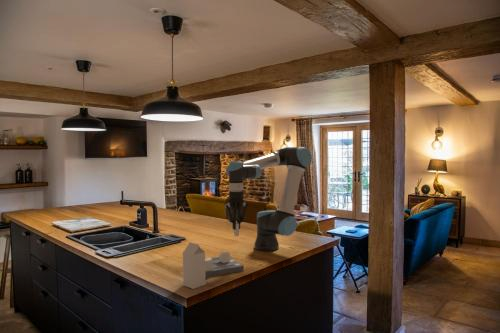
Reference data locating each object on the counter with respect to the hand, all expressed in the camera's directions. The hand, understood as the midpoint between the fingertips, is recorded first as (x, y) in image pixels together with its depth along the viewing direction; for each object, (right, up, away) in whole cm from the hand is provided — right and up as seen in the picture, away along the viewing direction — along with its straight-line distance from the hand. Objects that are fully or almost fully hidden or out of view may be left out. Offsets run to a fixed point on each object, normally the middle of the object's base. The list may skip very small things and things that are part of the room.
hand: (236, 235), depth 186 cm
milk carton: (-18, -17, -28) cm, 37 cm away
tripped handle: (-6, -13, -3) cm, 15 cm away
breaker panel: (-11, -16, -5) cm, 20 cm away
